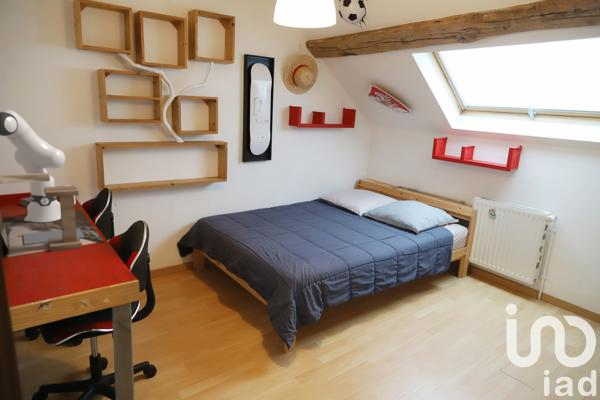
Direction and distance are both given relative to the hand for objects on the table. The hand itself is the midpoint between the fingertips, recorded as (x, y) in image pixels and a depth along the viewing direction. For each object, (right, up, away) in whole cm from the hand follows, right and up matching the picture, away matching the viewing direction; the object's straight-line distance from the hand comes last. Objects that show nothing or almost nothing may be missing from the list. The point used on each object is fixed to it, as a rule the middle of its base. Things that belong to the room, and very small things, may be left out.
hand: (1, 178), depth 167 cm
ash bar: (+5, -1, +4) cm, 7 cm away
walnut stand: (+15, -29, +19) cm, 38 cm away
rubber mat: (+4, -26, +29) cm, 40 cm away
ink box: (-20, -12, +84) cm, 87 cm away
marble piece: (-38, -12, +81) cm, 90 cm away
